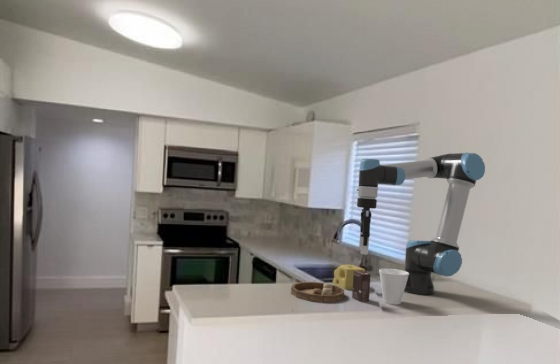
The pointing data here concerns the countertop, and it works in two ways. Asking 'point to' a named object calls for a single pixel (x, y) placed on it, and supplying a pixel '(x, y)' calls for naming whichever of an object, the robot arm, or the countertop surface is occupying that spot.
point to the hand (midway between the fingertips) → (363, 251)
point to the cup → (393, 285)
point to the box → (361, 286)
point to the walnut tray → (309, 292)
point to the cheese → (345, 276)
